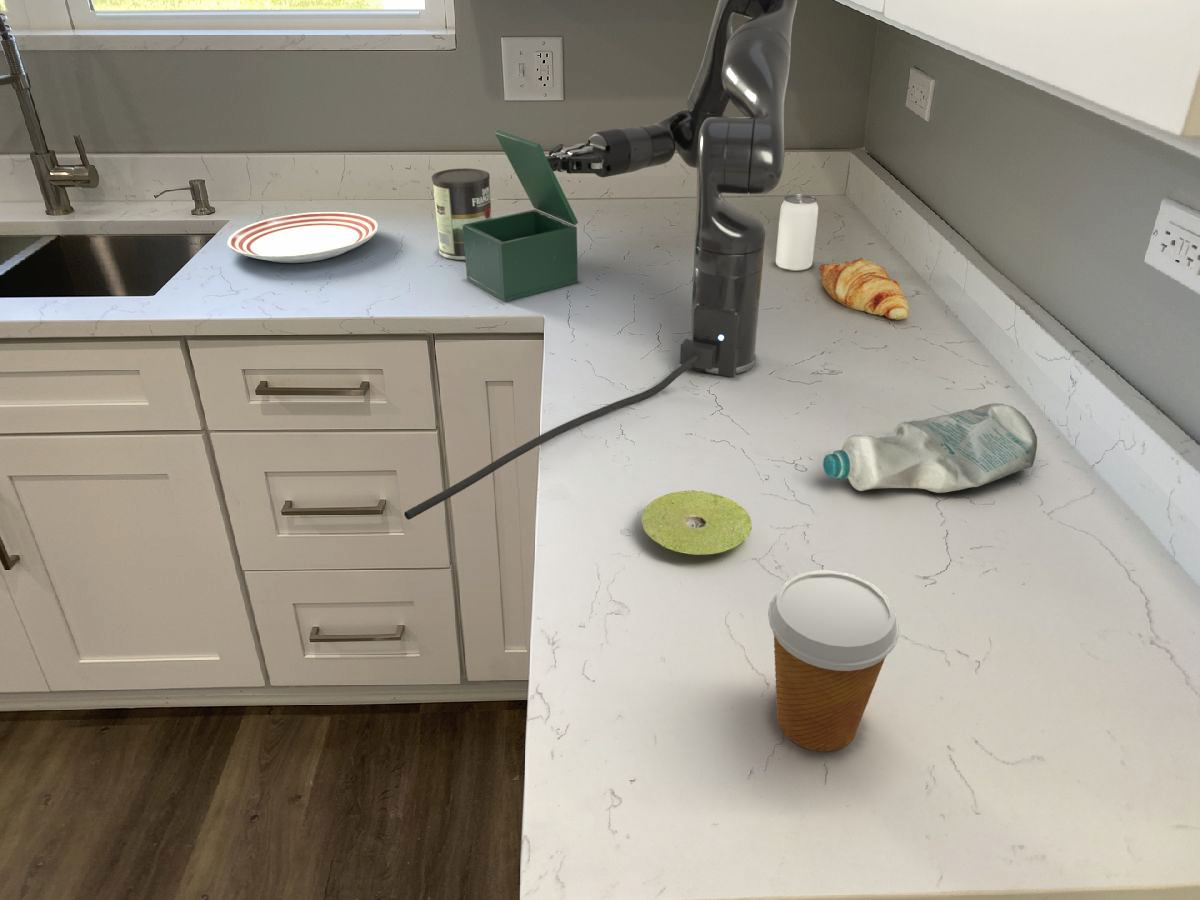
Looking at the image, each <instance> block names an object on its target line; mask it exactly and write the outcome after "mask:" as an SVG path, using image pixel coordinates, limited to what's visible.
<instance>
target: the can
mask: <svg viewBox="0 0 1200 900" xmlns="http://www.w3.org/2000/svg"><path fill="white" fill-rule="evenodd" d="M817 201H818V198H817V197H816V196H814V195H811V194H810V195H809V194H805V193H793V194H788V195H787V194H786V195H785V196H784V197H783V202H782V204H781V206H780V210H779V218H778V219H779V220H778V229H777V241H776V250H775V251H776V253H775V265H776V266H777V268H779V269H781V270H784V271H789V272H802V271H806V270H807V271H808V270H809V269H810V268H811V267H812V265H813V262H814V261H813V260H814V253H815V245H816V244H815V243H816V236H817V228H818V216H819V205H818V203H817Z"/></svg>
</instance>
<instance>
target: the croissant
mask: <svg viewBox="0 0 1200 900" xmlns="http://www.w3.org/2000/svg"><path fill="white" fill-rule="evenodd" d="M819 275H820V277H821V284H822V286H823V288H824V289H825V291H826V293H827V294H828V295H829V297H831V298H832V299H833V300H835V301H836V302H838V303H840V304H842V305H843V306H844V307H847V308H849V309H851V310H852V309H853V310H855V311H860V312H866V313H868V314H869V315H878V316H881V317H882V316H885V317H886V318H887V319H889V320H890V319H891V320H903V319H905V318H907V317H908V316H909V313H910V311H909V310H910V309H909V308H910V306H909V303H908V299H907V298H906V297H905V295H904V290H903V289H902V288H901V287H900V283H899V282H898V281H897V280H895V279H892V278H891V277H890V275H889V273H888V272H887V270H886V268H885V267H884V266H882V265H880V264H878V263H876V262H874V261H872V260H868V259H865V258H863V257H860V258H858V259H854V260H852V261H844V262H843V263H842V262H841V263H835V262H834V263H833V262H832V263H830V264H829V263H821V264H820V266H819Z"/></svg>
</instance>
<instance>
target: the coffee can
mask: <svg viewBox="0 0 1200 900" xmlns="http://www.w3.org/2000/svg"><path fill="white" fill-rule="evenodd" d="M490 178H491V177H490V173H489V172H488V171H486V170H484V169H479V168H478V169H477V168H467V167H466V168H451V169H444V170H440V171H438V172H437V171H436V172H435V173H433V174H432V175H431V181H432V186H433V198H434V199H433V200H434V207H435V216H436V219H435V220H436V227H437V237H438V248H439V251H438V252H439V255H440V256H441V257H443V258H446V259H449V260H458V261H466V260H465V249H464V237H463V225H464V224H468V223H473V222H478V221H483V220H487V219H492V218H493V217H492V203H491V202H492V201H491V186H490Z"/></svg>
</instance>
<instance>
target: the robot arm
mask: <svg viewBox="0 0 1200 900" xmlns="http://www.w3.org/2000/svg"><path fill="white" fill-rule="evenodd" d="M797 4H798V0H718V1H717V5H716V9H715V12H714V16H713V20H712V23H711V26H710V31H709V34H708V38H707V42H706V46H705V49H704V54H703V57H702V60H701V64H700V67H699V69H698V71H697V74H696V77H695V79H694V81H693V84H692V86H691V89H690V91H689V94H688V97H687V100H686V107H687V108H683V109H679V110H678V111H675V112H674V113H672V114H671V115H669V116H667V117H665V118H663V119H661V120H659V121H657V122H655V123H653V124H646V125H641V126H624V127H619V128H613V129H607V130H600V131H595V132H594V133H592V134H591V135H590V136H589V138H588V139H587V140H588V141H587V142H586V144H585V143H584V142H583V143H581V142H580V143H576V144H574V145H573V146H568V147H566V146H565V144H563V143H559V144H556V146H554V147H553V148H551V149H550V150H549V151H548V155H545V156H546V158H547V160H548V162H549V164H550V166H551V168H552V170H553V172H559V173H563V172H566V174H569V175H571V174H595V175H596V176H597V177H600V178H608V177H609V178H610V177H614V176H618V175H624V174H628V173H634V172H636V171H640V170H642V169H646V168H651V167H656V166H661V165H664V164H667V163H668V162H670V161H671V160H672V159H673V157H674V155H675V152H677V153H678V155H679V156H680V158H681V159H682V161H683V162H684V163H685V164H686V165H687V166H688V167H690V168H694V169H696V215H695V230H694V231H695V232H694V252H693V253H694V254H693V269H692V288H691V290H692V291H691V309H690V313H691V314H690V327H689V328H690V329H689V330H690V331H689V333H690V334H689V339H688V338H685V339H684V340H683V342H681V344H680V347H679V349H680V351H679V366H678V367H676V369H674V370H673V371H672V372H671V373H669V374H668V375H667V376H666V377H665V378H664V379H663V380H661V381H660V382H659V383H657V384H656V385H653V386H652V387H651V388H648V389H647V390H644V391H642V392H640V393H637V394H634V395H631V396H629V397H626V398H622V399H620V400H616V401H614V402H612V403H610V404H608V405H605V406H601V407H600V408H598V409H595V410H592V411H590V412H588V413H586V414H583V415H580V416H578V417H576V418H573V419H571V420H569V421H567V422H564V423H562V424H560V425H558V426H556V427H554V428H552V429H549V430H548V431H546V432H544V433H542V434H540V435H539V436H536V437H534V438H533V439H531V440H529V441H527V442H525V443H523V444H522V445H520V446H519V447H517V448H515V449H513V450H511V451H509V452H508V453H506V454H504V455H502V456H501V457H499V458H498V459H496V460H494V461H492V462H491V463H489V464H487V465H486V466H484V467H483V468H481V469H479V470H478V471H476V472H474V473H472V474H471V475H469V476H468V477H465V478H463V479H462V480H460V481H458V482H457V483H455V484H454V485H451V486H450V487H448V488H446V489H444V490H442V491H441V492H439V493H437V494H435V495H433V496H432V497H429V498H428V499H426V500H424V501H423V502H420V503H418V504H417V505H415V506H412V507H411V508H409V509H408V510H406V511H404V513H403V514H404V517H405V519H406V520H408V521H410V520H412V519H413V518H415V517H416V516H418V515H420V514H422V513H424V512H426V511H428V510H430V509H431V508H433V507H435V506H437V505H438V504H440V503H442V502H445V500H448V499H450V498H451V497H453V496H455V495H457V494H458V493H460V492H462V491H464V490H466V489H467V488H469V487H470V486H472V485H474V484H475V483H477V482H479V481H481V480H482V479H484V478H486V477H487V476H489V475H490V474H493V472H495V471H497V470H498V469H500V468H502V467H504V466H505V465H507V464H509V463H511V462H512V461H513V460H515V459H517V458H518V457H520V456H522V455H524V454H525V453H527V452H529V451H531V450H533V449H534V448H537V447H538V446H540V445H542V444H543V443H546V442H547V441H549V440H551V439H554V438H555V437H557V436H559V435H561V434H564V433H565V432H567V431H570V430H572V429H574V428H576V427H578V426H581V425H583V424H585V423H588V422H590V421H593V420H595V419H598V418H601V417H602V416H604V415H607V414H609V413H612V412H614V411H617V410H619V409H621V408H624V407H627V406H630V405H632V404H636V403H638V402H641V401H644V400H646V399H648V398H651V397H653V396H654V395H656V394H658V393H660V392H661V391H663V390H664V389H666V388H667V387H668V386H670V384H672V383H673V382H674V381H675V380H676V379H677V378H679V376H681V375H682V374H683V373H684V372H686V371H687V370H689V368H690V370H692V371H696V372H702V373H708V374H712V375H718V376H723V377H728V378H733V377H735V376H736V375H737V374H742V373H745V372H747V371H749V370H751V369H752V368H753V367H754V365H756V347H757V333H758V322H759V313H760V312H759V309H760V299H761V287H762V278H763V277H762V276H763V267H764V255H765V246H766V235H767V234H766V225H765V224H764V222H763V221H762V220H761V219H759V218H758V217H756V216H754V215H752V214H749V213H747V212H745V211H743V210H740V209H738V208H737V207H735V206H734V205H732V204H731V203H729V202H728V201H727V199H726V198H725V197H724V196H723V194H734V195H735V194H737V195H765V194H770V193H771V192H773V191H774V190H775V189H776V188H777V186H778V184H779V183H780V180H781V177H782V174H783V171H784V165H785V152H786V134H785V133H786V129H785V126H786V125H785V124H786V120H785V119H786V117H785V116H786V115H785V114H786V113H785V112H786V111H785V108H786V107H785V105H786V97H787V89H788V83H789V76H790V66H791V57H792V56H791V52H792V51H791V49H792V33H793V31H792V30H793V23H794V18H795V14H796V9H797ZM735 14H736V15H737V16H741V17H744V18H747V19H749V20H747V21H746V22H744V23H743V24H740V25H739V26H738V28H736V29H735V30H734V32H733V23H734V19H735ZM730 103H732V104H733V105H734V106H735V107H736V108H737V109H738V111H740V113H742V115H744V116H725V114H726V111H727V110H728V107H729V105H730Z"/></svg>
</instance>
